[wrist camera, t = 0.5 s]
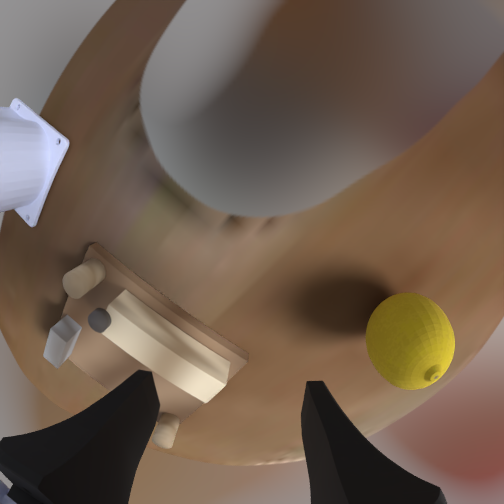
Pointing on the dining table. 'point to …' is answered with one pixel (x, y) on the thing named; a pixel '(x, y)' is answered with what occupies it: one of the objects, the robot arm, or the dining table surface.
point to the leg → (161, 346)
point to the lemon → (410, 341)
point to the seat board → (112, 356)
